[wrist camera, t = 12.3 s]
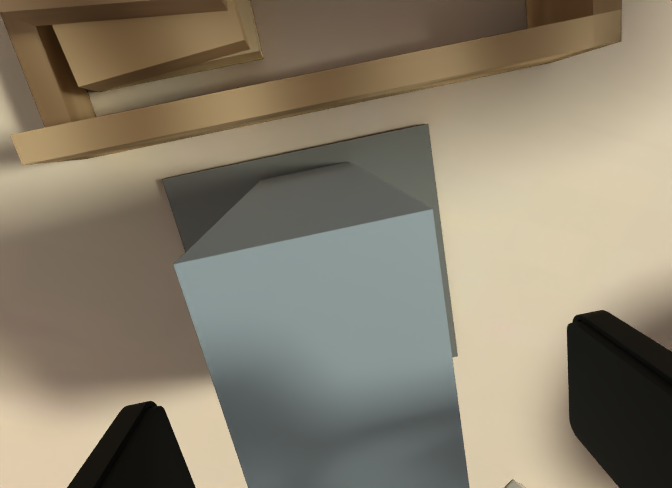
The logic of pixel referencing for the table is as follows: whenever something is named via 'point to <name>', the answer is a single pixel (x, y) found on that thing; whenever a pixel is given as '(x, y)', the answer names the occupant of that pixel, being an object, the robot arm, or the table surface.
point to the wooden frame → (286, 83)
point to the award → (514, 485)
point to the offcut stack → (143, 36)
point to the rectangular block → (329, 334)
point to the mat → (366, 153)
